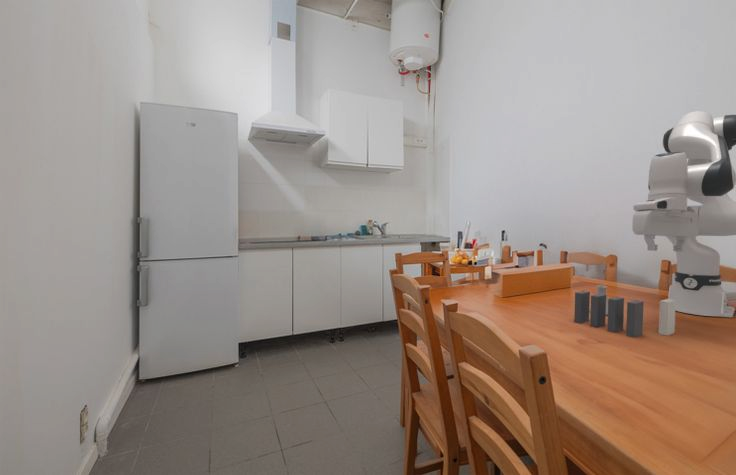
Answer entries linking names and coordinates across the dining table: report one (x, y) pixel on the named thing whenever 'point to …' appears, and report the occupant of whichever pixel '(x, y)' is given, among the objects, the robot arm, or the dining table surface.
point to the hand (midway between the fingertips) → (665, 251)
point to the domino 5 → (667, 317)
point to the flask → (603, 291)
